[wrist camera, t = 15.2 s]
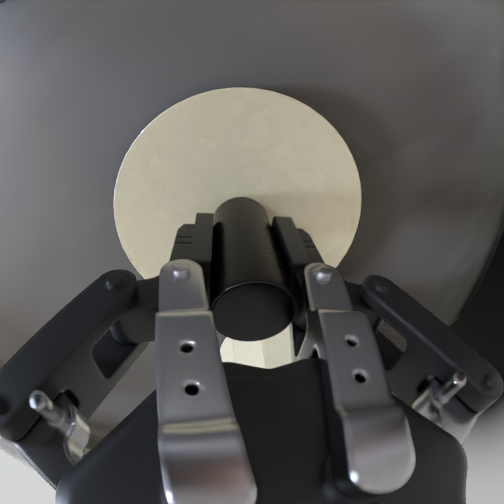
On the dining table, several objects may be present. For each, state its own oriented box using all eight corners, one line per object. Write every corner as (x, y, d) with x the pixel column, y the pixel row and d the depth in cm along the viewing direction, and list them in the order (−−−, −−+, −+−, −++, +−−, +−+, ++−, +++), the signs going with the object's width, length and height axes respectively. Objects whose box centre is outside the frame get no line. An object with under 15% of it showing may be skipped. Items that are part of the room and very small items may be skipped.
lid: (135, 298, 16) (111, 396, 10) (116, 89, 10) (18, 102, 4) (323, 301, 18) (358, 391, 12) (374, 111, 11) (479, 147, 5)
